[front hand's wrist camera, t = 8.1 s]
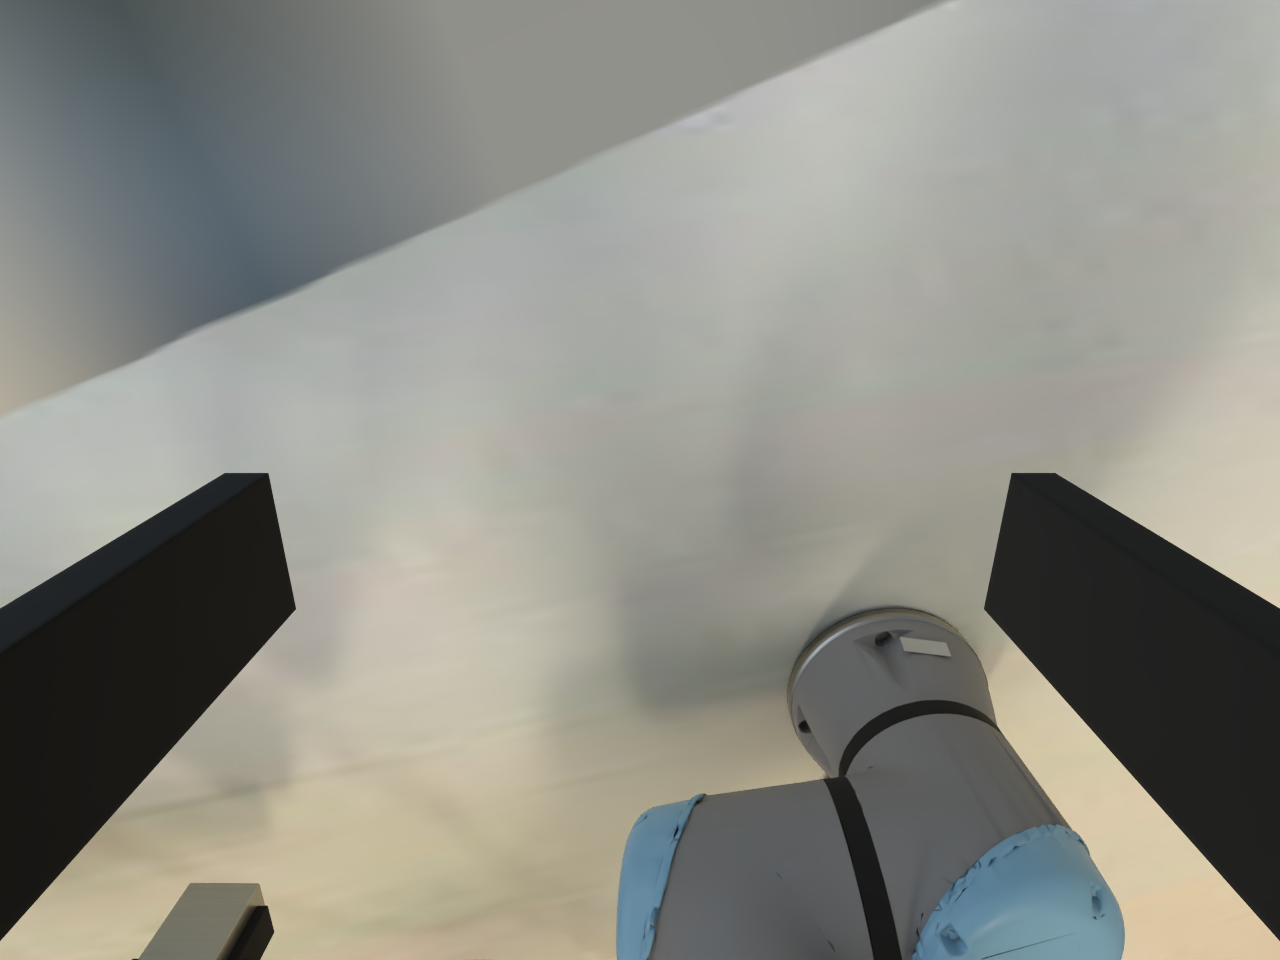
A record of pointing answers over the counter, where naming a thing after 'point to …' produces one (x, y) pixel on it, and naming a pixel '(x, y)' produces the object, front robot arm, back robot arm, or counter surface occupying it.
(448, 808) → the counter surface
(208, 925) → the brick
